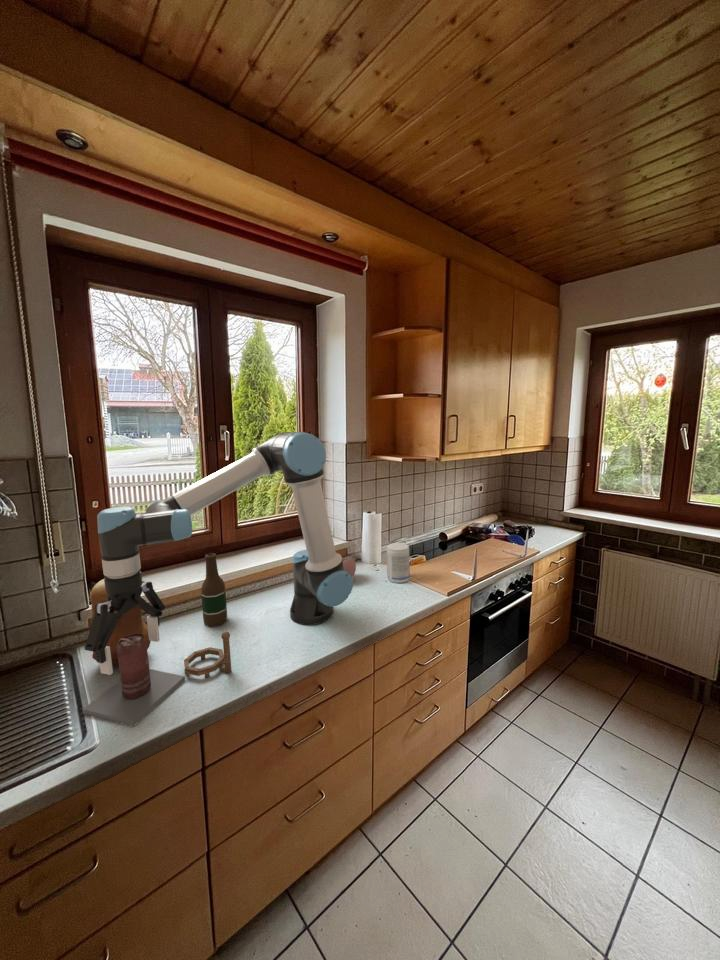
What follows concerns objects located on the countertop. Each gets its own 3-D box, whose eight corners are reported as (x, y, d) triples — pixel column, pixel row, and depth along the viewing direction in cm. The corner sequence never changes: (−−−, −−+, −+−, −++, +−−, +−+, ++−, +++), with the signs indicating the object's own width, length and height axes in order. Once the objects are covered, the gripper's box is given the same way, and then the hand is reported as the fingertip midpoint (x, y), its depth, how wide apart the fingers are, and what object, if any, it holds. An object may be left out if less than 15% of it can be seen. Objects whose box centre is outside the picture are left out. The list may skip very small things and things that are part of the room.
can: (129, 684, 97) (123, 633, 95) (155, 682, 97) (149, 631, 95) (116, 701, 91) (109, 647, 89) (144, 699, 91) (138, 645, 89)
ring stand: (242, 661, 107) (239, 623, 106) (220, 684, 98) (217, 642, 96) (202, 654, 111) (198, 617, 109) (176, 675, 102) (173, 635, 100)
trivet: (185, 680, 100) (184, 676, 100) (133, 726, 85) (133, 721, 84) (139, 671, 104) (139, 666, 104) (82, 713, 89) (82, 709, 89)
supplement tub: (414, 579, 162) (414, 545, 160) (400, 585, 155) (399, 551, 153) (396, 573, 169) (396, 541, 166) (382, 579, 162) (382, 546, 160)
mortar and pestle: (343, 572, 170) (343, 548, 168) (362, 580, 161) (361, 554, 160) (322, 580, 162) (321, 554, 160) (340, 589, 153) (339, 562, 152)
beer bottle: (219, 628, 125) (214, 559, 121) (198, 626, 126) (192, 557, 123) (232, 616, 132) (227, 551, 129) (212, 615, 134) (206, 549, 130)
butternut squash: (141, 643, 117) (132, 566, 114) (160, 659, 109) (151, 576, 105) (88, 665, 107) (76, 581, 103) (104, 685, 98) (93, 594, 95)
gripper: (152, 554, 102) (159, 627, 105) (56, 593, 79) (69, 686, 82) (175, 556, 100) (182, 630, 103) (83, 597, 77) (96, 692, 80)
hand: (132, 655), depth 93 cm, fingers open, 13 cm apart
